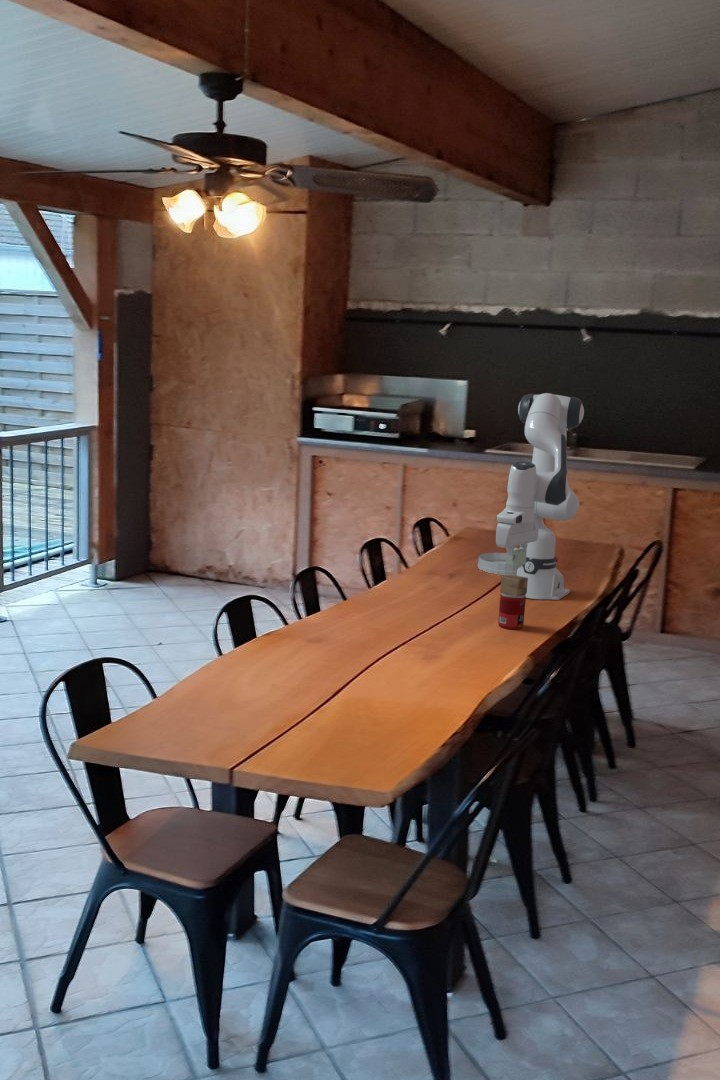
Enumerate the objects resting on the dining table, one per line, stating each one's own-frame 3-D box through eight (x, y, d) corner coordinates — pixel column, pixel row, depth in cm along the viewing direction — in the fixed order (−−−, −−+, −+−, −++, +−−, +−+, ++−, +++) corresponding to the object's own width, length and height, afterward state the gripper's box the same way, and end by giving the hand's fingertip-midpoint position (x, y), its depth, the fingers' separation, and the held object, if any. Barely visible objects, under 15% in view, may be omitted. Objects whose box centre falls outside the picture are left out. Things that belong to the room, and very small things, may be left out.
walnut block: (510, 589, 338) (511, 574, 337) (526, 593, 334) (528, 577, 333) (500, 592, 333) (501, 577, 332) (516, 596, 330) (518, 580, 329)
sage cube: (513, 561, 335) (514, 547, 334) (525, 563, 332) (526, 549, 331) (505, 563, 332) (506, 549, 331) (518, 565, 329) (519, 551, 328)
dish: (475, 574, 410) (476, 561, 409) (479, 562, 431) (479, 550, 430) (533, 579, 406) (534, 566, 405) (534, 567, 428) (535, 555, 427)
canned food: (522, 631, 331) (525, 596, 329) (496, 628, 333) (499, 594, 331) (523, 624, 339) (526, 591, 337) (498, 622, 340) (501, 588, 338)
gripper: (527, 510, 339) (524, 552, 342) (493, 516, 323) (490, 560, 326) (545, 513, 335) (541, 556, 338) (511, 519, 319) (508, 564, 322)
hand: (516, 558), depth 332 cm, fingers closed on sage cube, 4 cm apart
